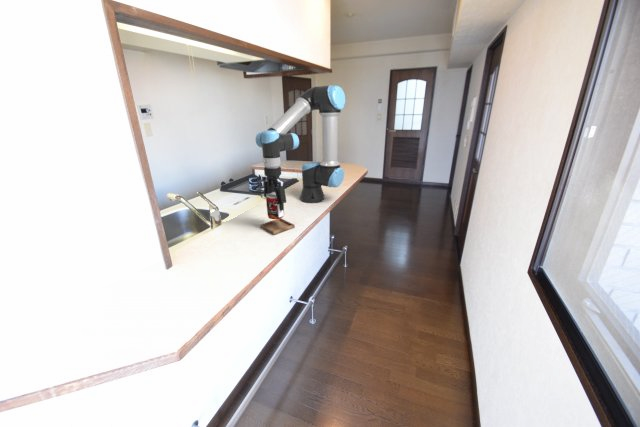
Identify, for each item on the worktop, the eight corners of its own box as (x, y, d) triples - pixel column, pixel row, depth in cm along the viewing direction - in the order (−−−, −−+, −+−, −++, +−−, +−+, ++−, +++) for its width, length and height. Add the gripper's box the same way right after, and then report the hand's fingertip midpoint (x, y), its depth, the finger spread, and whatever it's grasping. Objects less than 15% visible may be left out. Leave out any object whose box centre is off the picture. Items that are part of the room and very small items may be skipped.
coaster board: (280, 220, 141) (280, 218, 140) (294, 227, 132) (294, 224, 132) (260, 227, 133) (259, 224, 133) (273, 235, 125) (273, 232, 124)
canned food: (264, 217, 129) (262, 195, 125) (274, 212, 135) (272, 191, 131) (277, 220, 125) (275, 197, 122) (287, 214, 132) (286, 193, 128)
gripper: (253, 164, 127) (258, 210, 135) (278, 171, 112) (281, 222, 121) (267, 162, 131) (270, 207, 139) (292, 168, 117) (295, 217, 125)
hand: (276, 214), depth 130 cm, fingers closed on canned food, 8 cm apart
